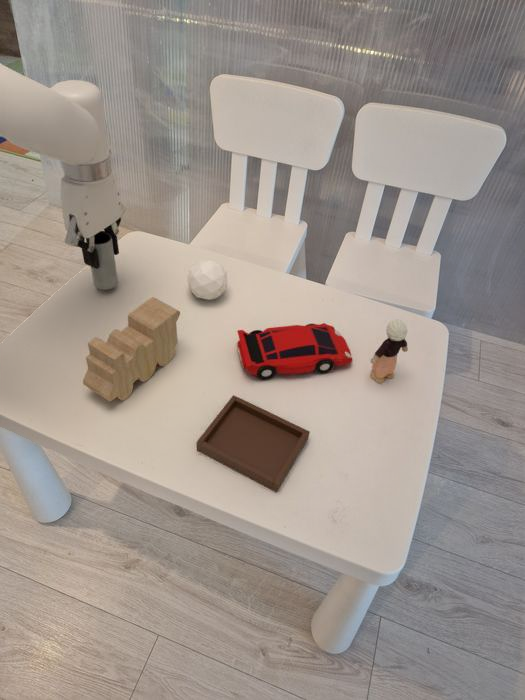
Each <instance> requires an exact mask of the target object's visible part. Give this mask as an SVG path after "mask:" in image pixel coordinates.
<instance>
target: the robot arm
mask: <svg viewBox="0 0 525 700" xmlns="http://www.w3.org/2000/svg"><path fill="white" fill-rule="evenodd" d="M106 123H107V122H106V115H105V108H104V100H103V95H102V91H101V90H100V88H99V87H98V86H97V85H95V84H94V83H92V82H89V81H86V80H82V79H81V80H80V79H68V80H63V81H59V82H56V83H55V84H54V85H53V86H51V87H48V86H46V85H44V84H42V83H40V82H38V81H36V80H33V79H31V78H29V77H28V76H26V75H23V74H22V73H19V72H18V71H15V70H14V69H12V68H9V67H8V66H6V65H4V64H2V63H1V62H0V137H1V138H4V139H5V140H6V141H8V142H9V143H11V144H12V145H14V146H15V147H18V148H20V149H23V150H25V151H29V152H32V153H36V154H39V155H42V156H45V157H48V158H51V159H54V160H58V161H59V162H61V166H62V171H63V174H64V175H63V177H61V179H60V202H61V211H62V219H63V223H64V228H65V231H67V232H66V236H65V238H64V243H65V244H67V245H69V246H72V247H75V248H76V247H78V248H80V249H81V253H82V257H83V258H82V259H83V263H84V264H85V265H87V266H89V267H90V268H91V267H93V268H96V269H98V268H99V267H100V263H99V257H98V251H97V250H96V249H94V238H95V234H97V233H99V232H100V231H105V232H108V233H110V234H111V236H112V242H113V250H114V256H117V255H119V254H120V249H119V242H118V235H119V234H120V229H119V227H120V225H121V221H122V218H123V216H124V215H125V212H126V207H125V206H124V205H123V204H122V199H121V194H120V189H119V185H118V181H117V178H116V173H115V170H114V169H113V167H112V163H111V162H112V161H111V155H112V152H111V150H110V147H109V140H108V131H107V124H106ZM86 238H87V243H86Z"/></svg>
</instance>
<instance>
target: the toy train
mask: <svg viewBox="0 0 525 700" xmlns="http://www.w3.org/2000/svg"><path fill="white" fill-rule="evenodd" d="M180 315H181V311H180V310H178V309H176V308H174V307H173V306H172V305H170V304H167V303H165V302H163V301H162V300H160V299H158V298H156V297H153V296H151V297H150V298H149V299H147V300H146V301H145V302H143V303H142V304H140V305H139V306H137V307H136V308H135V309H134V310H131V311H130V312H129V313H128V314H127V326H126V327H125V328H123V329H121V330H119V329H116V328H114V329H112V331H111V332H110V333H109V335H108V337H107V340H106V341H104V340H102V339H100V338H99V337H97V336H96V337H94V338H93V339H91V340H90V341H88V342H87V346H88V350H89V354H88V355H86V356H85V360H86V365H87V370H86V373H85V375H84V377H83V380H82V384H83V385H84V386H85V387H86V388H88V389H90V390H91V391H92V392H94V393H95V394H97V395H98V396H100V397H102V398H103V399H105V400H106V401H108V402H112V401H114V400H115V399H116V398H117V399H118V400H120V401H125V400H127V399H128V398H129V397H130V396H131V394H132V392H133V389H134V383H135V382H136V381H137V380H138V381H140V382H142V383H145V382H147V381H148V380H149V379H151V378H152V376H153V375H154V373H155V370H156V368H157V365H158V366H159V367H164V366H167V365H168V364H169V363H170V362H172V359H173V358H174V356H175V352H176V347H177V345H178V329H177V328H178V327H177V323H178V320H179V318H180Z"/></svg>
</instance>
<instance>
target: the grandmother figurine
mask: <svg viewBox="0 0 525 700" xmlns="http://www.w3.org/2000/svg"><path fill="white" fill-rule="evenodd" d="M408 331H409V330H408V328H407V324H406V323H405V322H404V320H401V319H395V320H391V321H390V322H389V323H388V324H387V326H386V336H387V338H386V339H385V340H383V342H382V343H381V344H380V346H379V347H378V348H377V350H376V351H375V352H374V354H373V356H372V357H371V358H370V363H371V364H372V366H371V368H372V370H373V371H372V372H371V373H370V374H369V376H370V378H371V379H372V380H373V381H374V382H376V383H377V384H383V383H385V381H386V379H385V378H387V379H393V378H394V377H395V369H396V366H397V362H398V361H397V360H398V354H399V353H400V351H402V352H403V353H407V352H408V350H409V347H408V342H407V340H406V338H407V334H408Z"/></svg>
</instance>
